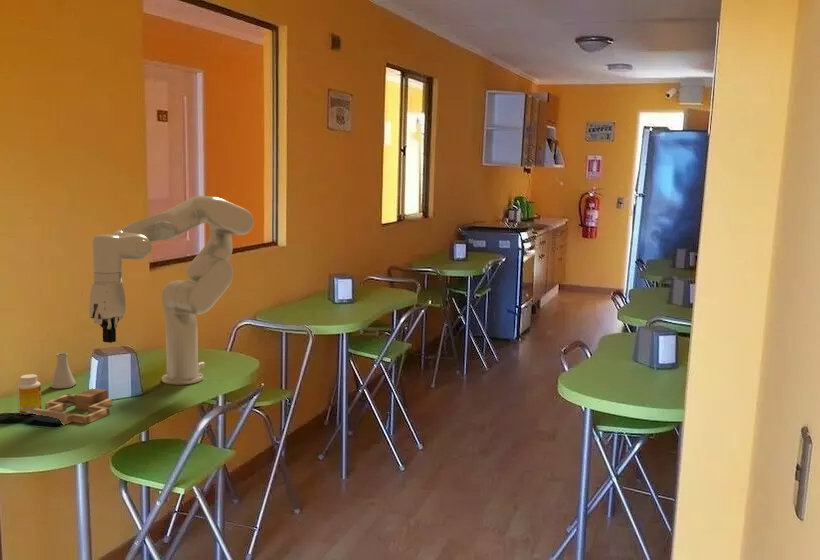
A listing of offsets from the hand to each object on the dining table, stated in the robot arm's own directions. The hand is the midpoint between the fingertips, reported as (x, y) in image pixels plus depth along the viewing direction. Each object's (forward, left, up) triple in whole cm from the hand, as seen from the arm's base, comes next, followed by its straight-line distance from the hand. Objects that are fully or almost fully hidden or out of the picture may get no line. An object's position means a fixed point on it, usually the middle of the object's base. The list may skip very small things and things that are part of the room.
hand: (109, 341), depth 211 cm
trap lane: (+15, 0, -17) cm, 22 cm away
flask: (-4, -21, -17) cm, 28 cm away
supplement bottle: (+19, -10, -17) cm, 27 cm away
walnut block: (+8, 0, -17) cm, 19 cm away
